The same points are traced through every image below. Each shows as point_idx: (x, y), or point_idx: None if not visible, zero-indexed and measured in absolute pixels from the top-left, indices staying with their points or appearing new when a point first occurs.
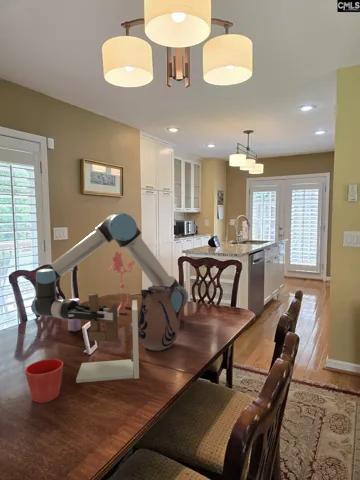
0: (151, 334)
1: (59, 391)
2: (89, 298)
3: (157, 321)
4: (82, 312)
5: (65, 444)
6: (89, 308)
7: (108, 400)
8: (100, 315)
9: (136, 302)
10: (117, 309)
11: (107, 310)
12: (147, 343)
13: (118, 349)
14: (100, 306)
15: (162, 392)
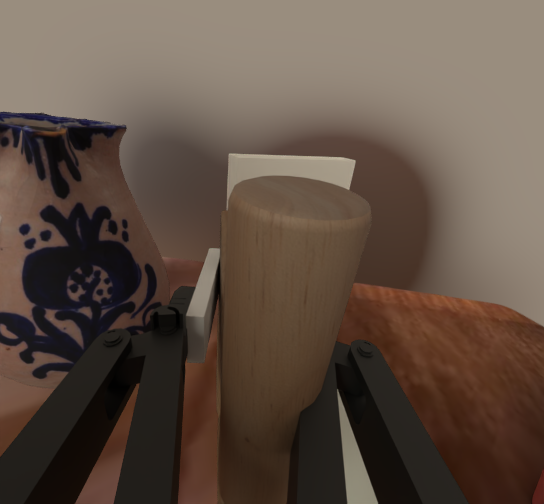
0: (167, 288)
1: (534, 492)
2: (360, 254)
3: (153, 240)
4: (409, 447)
5: (535, 353)
6: (323, 375)
7: (412, 350)
8: None
9: (267, 155)
10: (209, 252)
11: (209, 302)
12: None
13: (107, 500)
14: (102, 384)
15: None
